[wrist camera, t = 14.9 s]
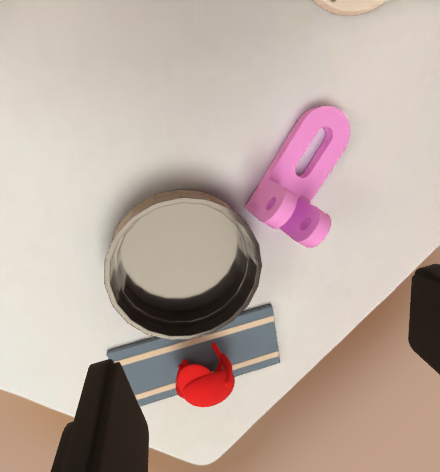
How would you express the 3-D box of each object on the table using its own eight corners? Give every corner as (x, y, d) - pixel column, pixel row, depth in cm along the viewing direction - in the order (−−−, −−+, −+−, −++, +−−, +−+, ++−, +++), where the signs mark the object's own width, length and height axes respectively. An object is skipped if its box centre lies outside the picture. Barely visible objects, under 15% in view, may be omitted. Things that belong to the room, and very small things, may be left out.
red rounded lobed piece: (240, 353, 38) (255, 391, 33) (212, 387, 39) (221, 429, 34) (189, 326, 36) (196, 363, 30) (160, 363, 36) (161, 406, 31)
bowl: (237, 174, 31) (249, 181, 28) (257, 296, 37) (269, 316, 33) (89, 208, 30) (80, 220, 26) (133, 331, 35) (131, 357, 31)
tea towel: (270, 303, 38) (272, 307, 37) (278, 359, 41) (280, 363, 40) (107, 350, 35) (106, 354, 34) (129, 406, 38) (129, 410, 38)
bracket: (284, 230, 35) (314, 253, 28) (244, 207, 33) (267, 226, 26) (351, 126, 32) (401, 126, 26) (313, 95, 30) (356, 86, 24)
